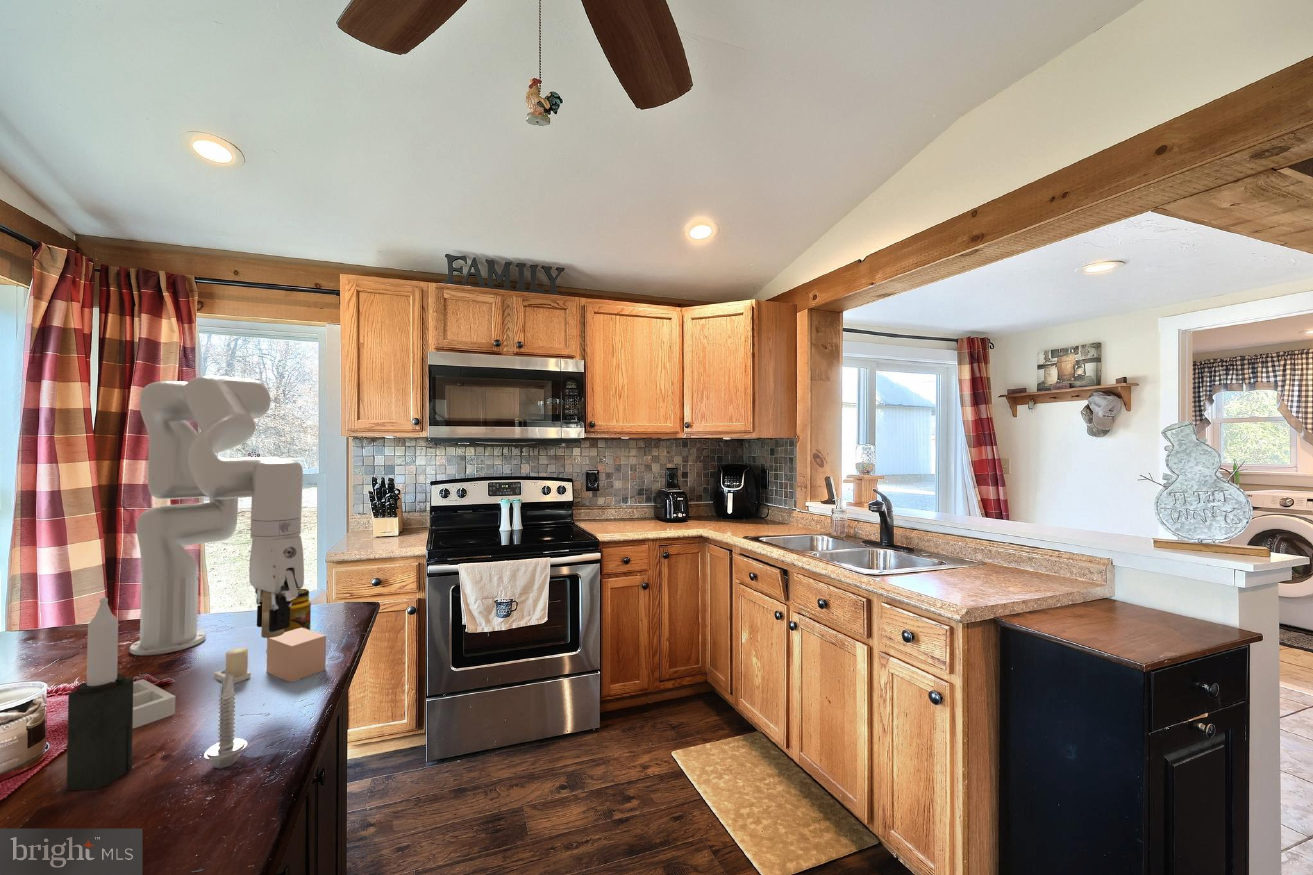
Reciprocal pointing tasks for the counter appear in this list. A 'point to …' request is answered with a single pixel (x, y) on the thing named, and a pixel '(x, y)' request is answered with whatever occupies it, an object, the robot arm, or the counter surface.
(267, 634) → the pin
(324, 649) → the block
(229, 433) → the robot arm
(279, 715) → the counter surface
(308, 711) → the counter surface
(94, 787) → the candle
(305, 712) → the counter surface
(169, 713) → the socket board
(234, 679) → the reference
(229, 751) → the screw
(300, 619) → the condiment
